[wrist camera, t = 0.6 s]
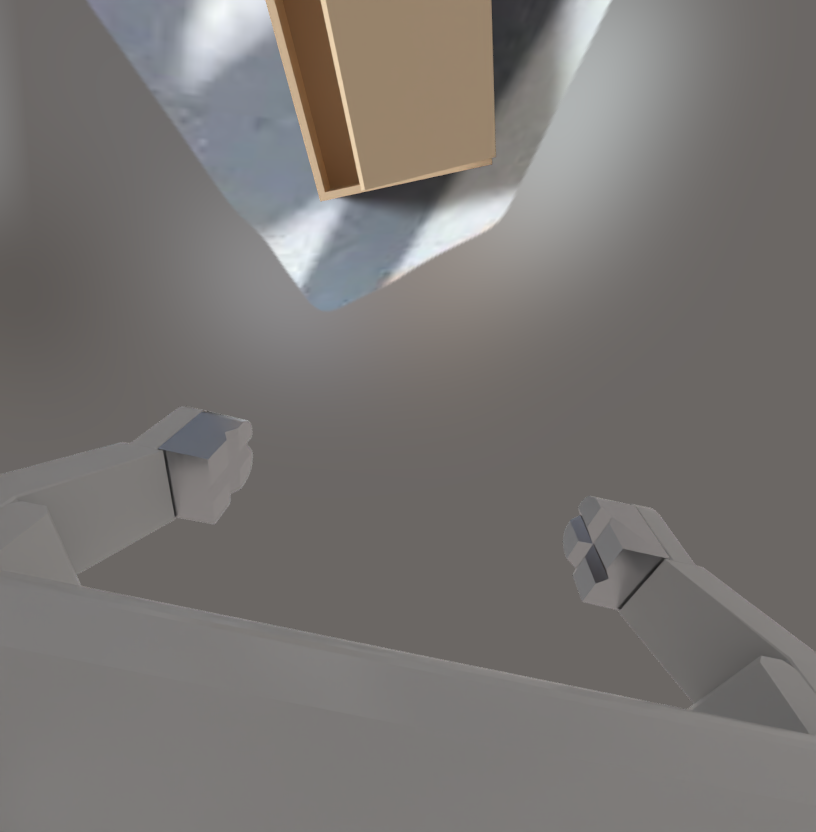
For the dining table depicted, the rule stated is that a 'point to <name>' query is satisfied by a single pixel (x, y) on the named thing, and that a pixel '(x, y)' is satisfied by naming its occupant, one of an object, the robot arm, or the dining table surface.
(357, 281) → the dining table surface
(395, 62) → the carton flap
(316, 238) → the dining table surface
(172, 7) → the dining table surface
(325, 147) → the carton
